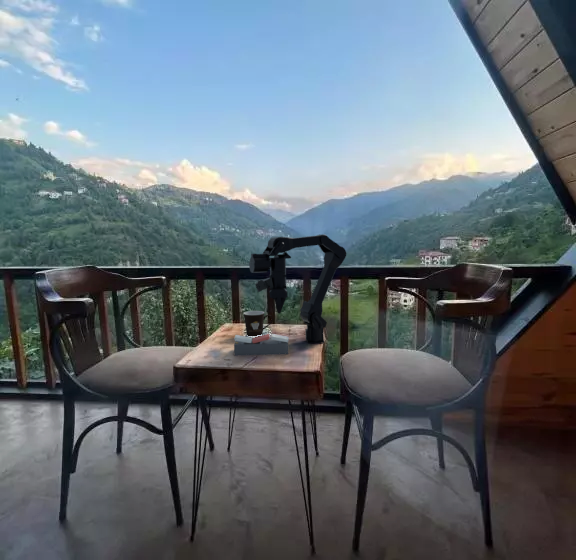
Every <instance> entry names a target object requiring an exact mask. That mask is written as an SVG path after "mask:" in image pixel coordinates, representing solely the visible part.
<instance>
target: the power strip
mask: <svg viewBox="0 0 576 560" xmlns="http://www.w3.org/2000/svg"><path fill="white" fill-rule="evenodd" d="M252 339H253V338H252ZM234 341H235V340H234ZM233 346H234V347H233V353H234V357H235V356H236V357H237V356H272V355H273V356H274V355H276V356H277V355H278V356H279V355H289V341H288V342H284V341H278V340H272V339H271V336H270V338H269V339H268V340H264V341H260V342H257V343H253V342H252V341H251V343H247V342H241V341H235V342H234V344H233Z"/></svg>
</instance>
